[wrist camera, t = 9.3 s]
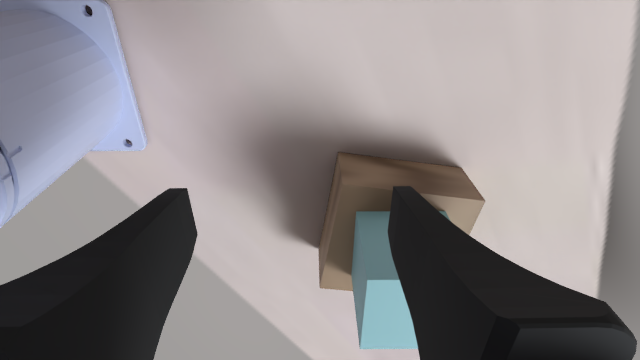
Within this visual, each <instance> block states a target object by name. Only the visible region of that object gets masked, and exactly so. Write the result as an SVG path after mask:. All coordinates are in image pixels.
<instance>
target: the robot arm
mask: <svg viewBox="0 0 640 360" xmlns="http://www.w3.org/2000/svg"><path fill="white" fill-rule="evenodd" d="M86 5H88V6H89V7H90V8H91V9H92V12H93V14H92V16H91V15H89V14H88V13H87V12H86V9H85V7H86ZM126 139H128V140H130V141H131V142H132V145H131V144H128V143H127V142H126ZM146 146H147V138H146V135H145V131H144V127H143V124H142V120H141V116H140V113H139V109H138V105H137V102H136V98H135V94H134V91H133V87H132V84H131V80H130V76H129V73H128V69H127V65H126V62H125V58H124V54H123V51H122V47H121V43H120V40H119V36H118V33H117V29H116V25H115V22H114V18H113V14H112V11H111V8H110V6H109V5H108V4H107V3H106V2H105V1H104V0H0V228H1V227H2V226H3V225H4V224H5V223H6V222H7V221H8V220H10V219H11V218H12V217H13V216H14V215H16V214H17V213H18V212H19V211H20V210H21V209H22V208H24V207H25V206H26V205H27V204H28V203H30V202H31V201H32V200H33V199H34V198H35V197H36V196H38V195H39V194H40V193H41V192H42V191H43V190H45V189H46V188H47V187H48V186H49V185H50V184H52V183H53V182H54V181H55V180H56V179H57V178H59V177H60V176H61V175H62V174H63V173H64V172H66V171H67V170H68V169H69V168H70V167H71V166H73V165H74V164H75V163H76V162H77V161H78V160H80V159H81V158H82V157H83V156H84V155H85V154H87V153H88V152H89V151H140V150H143V149H144V148H145V147H146ZM196 238H197V230H196V226H195V221H194V217H193V212H192V208H191V204H190V199H189V195H188V191H187V188H170V189H168V190H166V191H165V192H163V193H162V194H160V195H159V196H157V197H156V198H154V199H153V200H152V201H150V202H149V203H148V204H146V205H145V206H143V207H142V208H141V209H139V210H138V211H136V212H135V213H134V214H132V215H131V216H130V217H128V218H127V219H125V220H124V221H122V222H121V223H119V224H118V225H116V226H115V227H113V228H112V229H110V230H109V231H107V232H106V233H104V234H103V235H101V236H99V237H98V238H96V239H95V240H93V241H91V242H90V243H88V244H86V245H84V246H83V247H81V248H79V249H77V250H75V251H74V252H72V253H70V254H68V255H66V256H64V257H62V258H60V259H59V260H56V261H54V262H52V263H50V264H48V265H46V266H44V267H42V268H39V269H38V270H35V271H33V272H31V273H29V274H27V275H24V276H22V277H20V278H17V279H15V280H13V281H10V282H8V283H5V284H3V285H0V360H153V359H154V355H155V352H156V348H157V345H158V342H159V338H160V335H161V332H162V329H163V326H164V323H165V320H166V318H167V315H168V312H169V310H170V308H171V305H172V303H173V301H174V298H175V296H176V294H177V291H178V289H179V287H180V284H181V282H182V280H183V277H184V275H185V273H186V270H187V268H188V265H189V263H190V260H191V257H192V254H193V250H194V246H195V242H196ZM388 238H389V244H390V249H391V254H392V258H393V262H394V265H395V268H396V271H397V274H398V277H399V280H400V283H401V286H402V289H403V293H404V296H405V299H406V302H407V305H408V308H409V311H410V315H411V318H412V322H413V326H414V331H415V336H416V341H417V345H418V350H419V355H420V360H632V358H633V357H634V355H635V352H636V345H637V341H636V339H635V337H634V335H633V333H632V332H631V331H630V330H629V329H628V327H627V326H626V325H625V324H624V323H623V322H622V320H621V319H620V318H619V317H618V316H617V314H615V312H614V311H613V310H612V309H611V308H610V306H608V304H607V303H606V302H604V301H601V300H598V299H596V298H593V297H590V296H588V295H585V294H582V293H580V292H577V291H574V290H572V289H569V288H566V287H564V286H562V285H559V284H557V283H555V282H552V281H550V280H548V279H546V278H543V277H541V276H539V275H537V274H535V273H533V272H531V271H529V270H526V269H524V268H523V267H521V266H519V265H517V264H515V263H513V262H511V261H509V260H508V259H506V258H504V257H502V256H500V255H499V254H497V253H495V252H494V251H492V250H490V249H489V248H487V247H486V246H484V245H483V244H481V243H480V242H478V241H476V240H475V239H474V238H472V237H471V236H469V235H468V234H467V233H465V232H464V231H463V230H461V229H460V228H459V227H457V226H456V225H455V224H453V223H452V222H451V221H450V220H448V219H447V218H446V217H445V216H444V215H443V214H441V213H440V212H439V211H438V210H437V209H436V208H434V207H433V206H432V205H431V204H430V203H429V202H428V201H427V200H426V199H425V198H423V197H422V196H421V195H420V194H419V193H418V192H417V191H416V190H415V189H413V188H412V187H411V186H393V192H392V200H391V208H390V216H389V224H388Z"/></svg>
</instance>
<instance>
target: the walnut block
mask: <svg viewBox="0 0 640 360" xmlns="http://www.w3.org/2000/svg"><path fill="white" fill-rule="evenodd" d="M393 186H411V187H412V188H413V189H415V190H416V191H417V192H418V193H419V194H420V195H421V196H422V197H423V198H425V199H426V200H427V201H428V202H429V203H430V204H431V205H432V206H433V207H434V208H436V209H437V210H438V211H446V213H447V215H448V217H449V219H450V221H451V222H452V223H453V224H455V225H456V226H457V227H459V228H460V229H461V230H463V231H464V232H465V233H467V234H468V235H469V234H470V232H471V230H472V228H473V226H474V224H475V222H476V220H477V217H478V215H479V213H480V211H481V209H482V207H483V205H484V203H485V200H484V198H483V197H482V196H481V194H480V193H479V192H478V190H477V189H476V187H475V186H474V185H473V183H472V182H471V180H470V179H469V178H468V176H467V175H466V173H465V172H464V171H463V169H462V168H458V167H451V166H443V165H435V164H427V163H419V162H412V161H404V160H396V159H388V158H381V157H373V156H365V155H357V154H350V153H342V152H338V155H337V160H336V165H335V170H334V175H333V180H332V185H331V190H330V195H329V200H328V205H327V210H326V215H325V220H324V225H323V230H322V235H321V240H320V245H319V279H320V288H325V289H336V290H347V291H353V285H352V277H351V274H352V260H353V247H354V233H355V220H356V211H390V208H391V200H392V192H393Z"/></svg>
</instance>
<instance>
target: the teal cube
mask: <svg viewBox="0 0 640 360" xmlns="http://www.w3.org/2000/svg"><path fill="white" fill-rule="evenodd" d="M439 212H440V213H441V214H443V215H444V216H445V217H446V218H447V219H448V220H450V219H449V217H448V215H447V213H446V211H439ZM389 216H390V211H356V220H355V233H354V247H353V260H352V274H351V277H352V285H353V294H354V302H355V311H356V319H357V328H358V336H359V345H360V349H418V345H417V341H416V336H415V331H414V326H413V322H412V318H411V315H410V311H409V308H408V305H407V302H406V299H405V296H404V293H403V289H402V286H401V283H400V280H399V277H398V274H397V271H396V268H395V265H394V262H393V258H392V254H391V249H390V244H389V238H388V224H389Z"/></svg>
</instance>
